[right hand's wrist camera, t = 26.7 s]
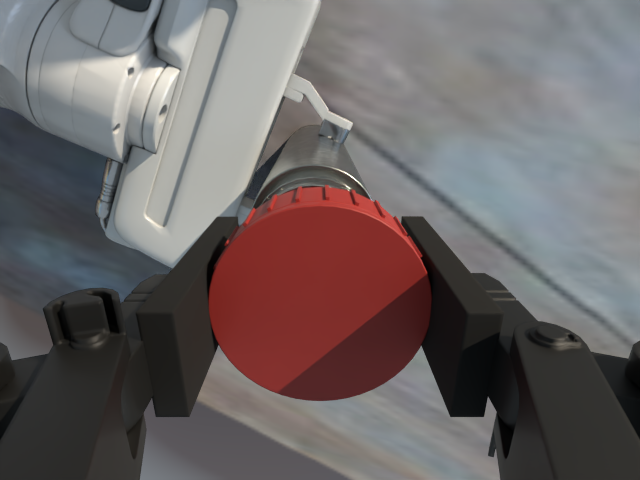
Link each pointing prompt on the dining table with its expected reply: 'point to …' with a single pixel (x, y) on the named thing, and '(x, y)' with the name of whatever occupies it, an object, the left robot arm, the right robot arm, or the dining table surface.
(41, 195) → the dining table surface
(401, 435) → the dining table surface
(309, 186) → the jar
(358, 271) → the lid
